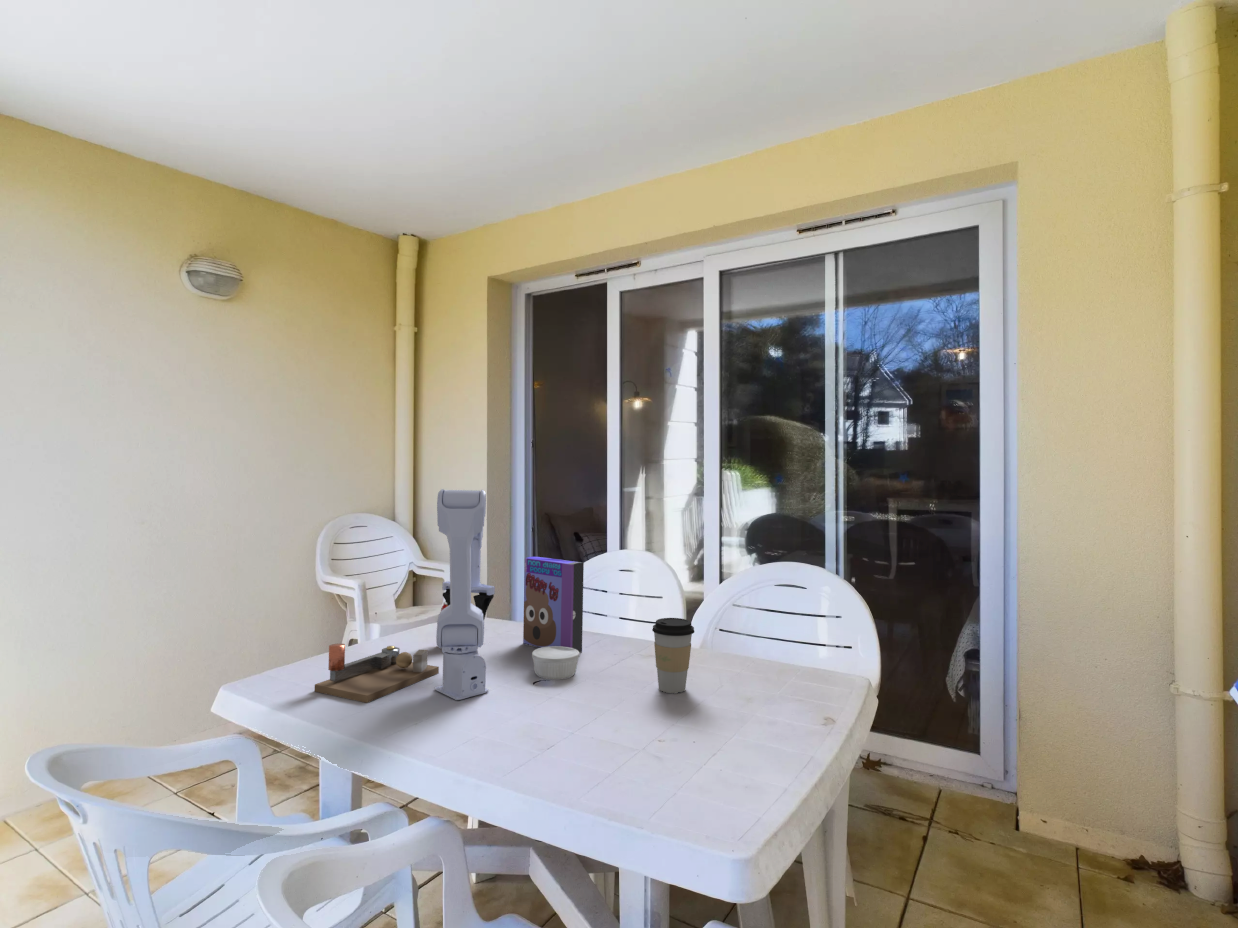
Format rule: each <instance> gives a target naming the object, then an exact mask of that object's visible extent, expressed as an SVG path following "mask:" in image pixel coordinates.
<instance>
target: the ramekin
mask: <svg viewBox="0 0 1238 928" xmlns="http://www.w3.org/2000/svg"><path fill="white" fill-rule="evenodd" d="M579 657H580V653H579V651H578V650H576V649H573V648H569V647H562V646H548V647H542V648H538V647H537V648H536V649H534V650H533V651H532V652H531V658H532V661H533V669H534V674H536V675H537V677H538V678H540V679H541V678H542V679H543V680H544V679H545V680H552V681H553V680H565V679H569V678H572V677H573V676H574V675H575V674H576V671H577V666H578V661H579Z"/></svg>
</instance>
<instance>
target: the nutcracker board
mask: <svg viewBox="0 0 1238 928" xmlns="http://www.w3.org/2000/svg"><path fill="white" fill-rule="evenodd" d="M439 668H440V667H439V666H437V665H430V664H428V649H418V650H417V651H416V652H415V653H413V654H412V663H411V665H410V666H409V667H407V668H400V667H399V666H398V665H397V664H396V663H395V664H391V665H390V666H387V667H384V668H382V669H381V668H376V667H375V668H373V669H370V670H367V671H364V672H361V673H358V674H356V675H353V676H350V677H347V678H344V679H342V680H339V681H336V682H333V681H330V678H329V679H326V680H324V681H321V682H318V683H315V684H314V693H319V694H324V695H329V696H333V697H338V698H343V699H347V700H352V701H357V702H362V703H366V704H368V703H370V702H372V701H375V700H378V699H380V698H383V697H385V696H387V695H389V694H392V693H395V692H397V691H400V690H402V689H405V688H407V687H409V686H411V685H413V684H416V683H419V682H421V681H424V680H426V679H428V678H430V677H433V676H435V675H437V674H439V672H440V669H439Z"/></svg>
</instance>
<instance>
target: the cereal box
mask: <svg viewBox="0 0 1238 928" xmlns="http://www.w3.org/2000/svg"><path fill="white" fill-rule="evenodd" d="M584 565H585V563H584V562H581V561H575V560H573V561H572V560H564V559H558V558H550V557H542V556H541V557H540V556H528V557H524V577H523V578H524V584H523V585H524V586H523V587H524V588H523V589H524V590H523V591H524V592H523V632H522V633H523V634H522V635H523V637H522V644H523V645H526V646H530V647H534V648H537V649H538V648H542V647H548V646H562V647H569V648H573V649H576V650H578V651H579V654H580V653H582V652H583V620H584V619H583V617H584V614H583V613H584V611H583V610H584V572H585V571H584Z"/></svg>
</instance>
